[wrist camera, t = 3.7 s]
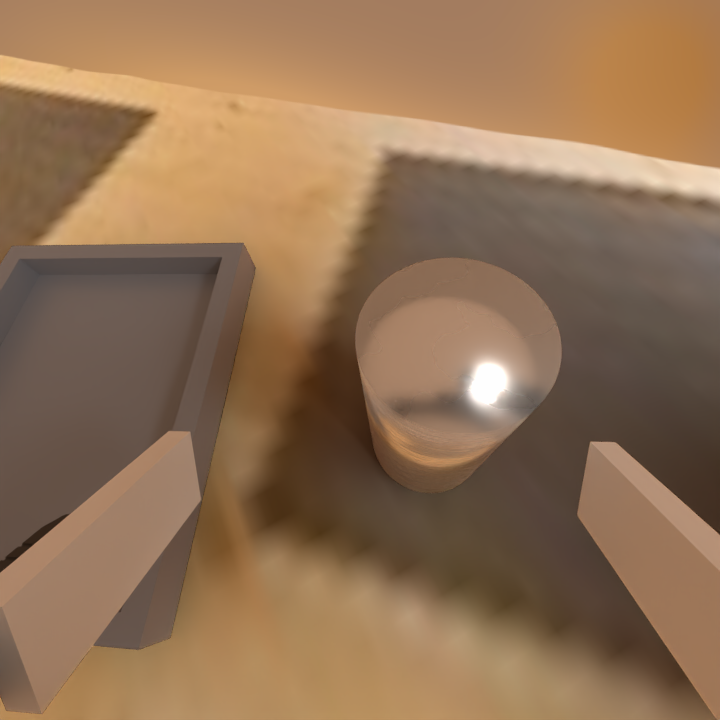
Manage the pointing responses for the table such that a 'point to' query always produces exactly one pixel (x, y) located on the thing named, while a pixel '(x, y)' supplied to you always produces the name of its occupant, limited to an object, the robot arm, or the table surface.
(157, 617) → the slate tray
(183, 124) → the table surface
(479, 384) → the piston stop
